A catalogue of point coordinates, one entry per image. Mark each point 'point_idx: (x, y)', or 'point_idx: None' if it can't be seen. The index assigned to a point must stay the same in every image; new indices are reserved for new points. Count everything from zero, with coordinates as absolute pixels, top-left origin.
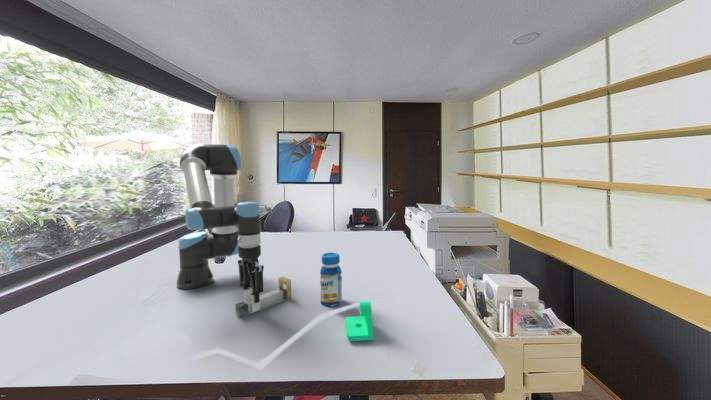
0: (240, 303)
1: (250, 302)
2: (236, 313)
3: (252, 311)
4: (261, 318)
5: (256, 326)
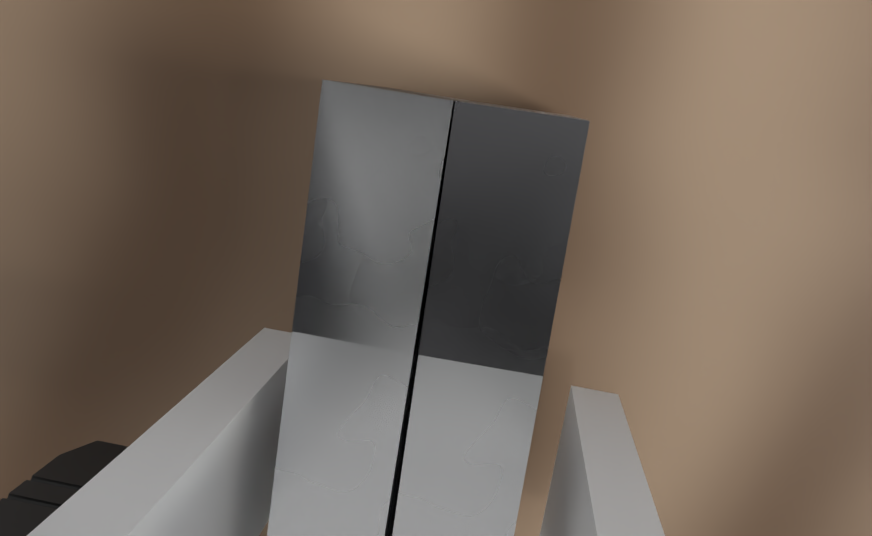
0: (510, 248)
1: (315, 431)
2: (541, 111)
3: (281, 335)
4: None
5: None
